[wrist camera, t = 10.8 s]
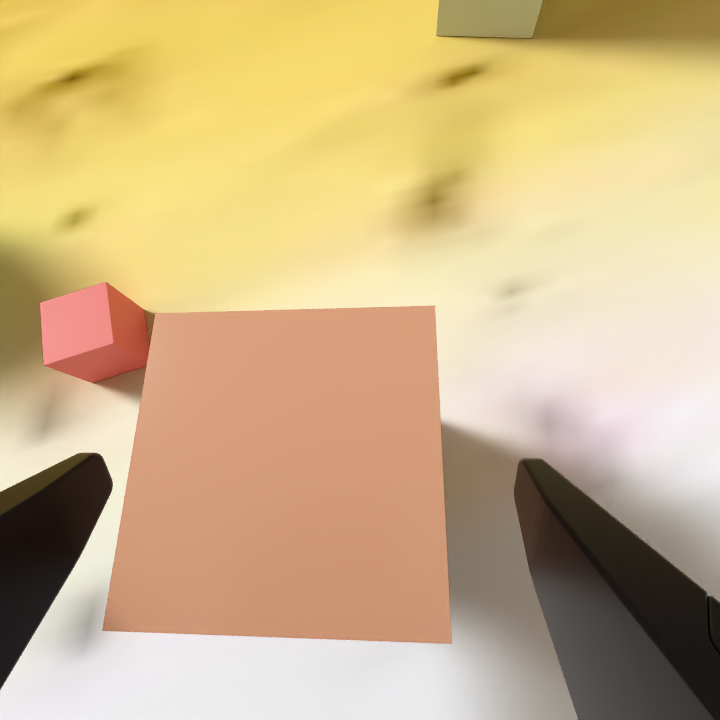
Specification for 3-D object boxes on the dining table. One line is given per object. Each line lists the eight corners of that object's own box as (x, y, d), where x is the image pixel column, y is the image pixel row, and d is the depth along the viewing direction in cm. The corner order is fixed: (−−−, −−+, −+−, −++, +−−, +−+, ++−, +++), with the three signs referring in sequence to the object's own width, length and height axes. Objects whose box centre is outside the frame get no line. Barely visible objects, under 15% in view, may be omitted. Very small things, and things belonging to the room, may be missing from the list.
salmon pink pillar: (412, 411, 18) (434, 305, 8) (417, 548, 17) (451, 643, 6) (289, 412, 19) (155, 313, 8) (281, 545, 17) (102, 630, 7)
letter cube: (145, 310, 21) (105, 282, 18) (153, 364, 20) (113, 343, 17) (88, 328, 21) (39, 302, 18) (93, 383, 20) (43, 365, 17)
